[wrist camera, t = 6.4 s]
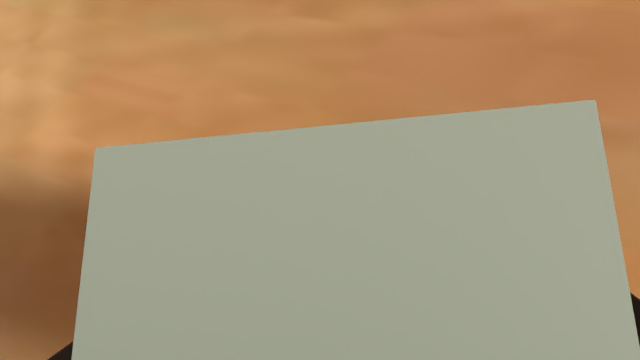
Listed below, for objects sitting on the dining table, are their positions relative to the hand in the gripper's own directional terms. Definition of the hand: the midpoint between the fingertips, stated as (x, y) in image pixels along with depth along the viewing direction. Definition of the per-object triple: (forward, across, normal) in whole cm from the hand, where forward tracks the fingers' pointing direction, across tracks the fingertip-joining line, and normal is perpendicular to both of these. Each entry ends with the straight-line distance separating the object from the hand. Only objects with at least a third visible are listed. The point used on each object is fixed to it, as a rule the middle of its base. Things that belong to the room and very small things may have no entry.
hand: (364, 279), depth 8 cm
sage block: (+4, 0, +6) cm, 7 cm away
